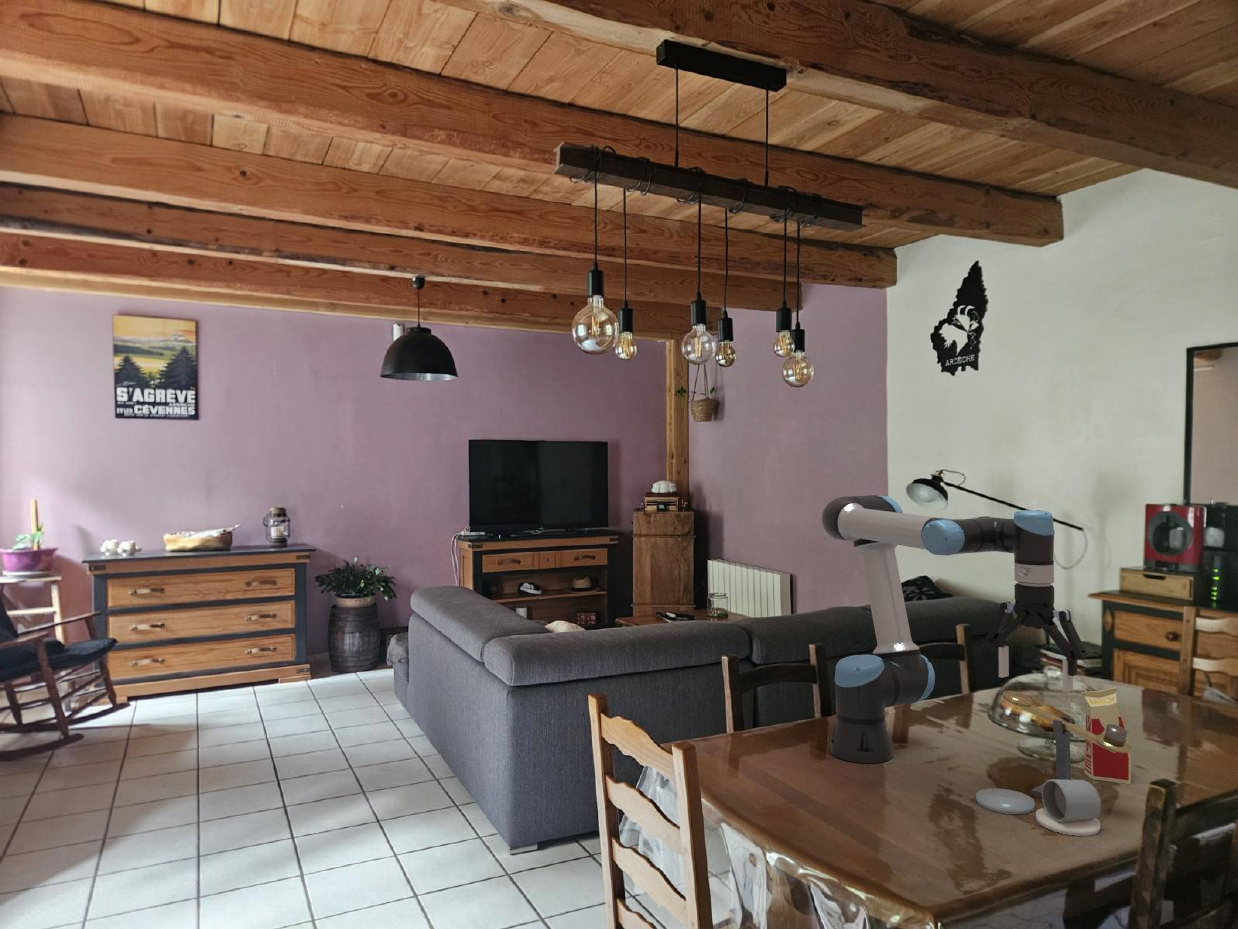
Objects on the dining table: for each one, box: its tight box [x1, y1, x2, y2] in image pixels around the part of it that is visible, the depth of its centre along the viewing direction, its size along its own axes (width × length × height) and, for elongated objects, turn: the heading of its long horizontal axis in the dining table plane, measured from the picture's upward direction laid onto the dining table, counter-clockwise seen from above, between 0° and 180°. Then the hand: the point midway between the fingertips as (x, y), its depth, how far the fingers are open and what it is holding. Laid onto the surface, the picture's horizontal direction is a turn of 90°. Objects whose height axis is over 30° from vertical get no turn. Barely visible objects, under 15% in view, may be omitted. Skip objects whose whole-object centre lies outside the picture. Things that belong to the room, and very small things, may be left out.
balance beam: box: [1002, 690, 1131, 753], centre depth 169 cm, size 26×6×5 cm, turn 36°
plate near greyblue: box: [975, 788, 1036, 815], centre depth 166 cm, size 11×11×1 cm
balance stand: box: [1030, 715, 1072, 798], centre depth 169 cm, size 10×8×16 cm
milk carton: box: [1080, 686, 1132, 785], centre depth 181 cm, size 9×9×20 cm
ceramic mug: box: [1041, 778, 1103, 822], centre depth 157 cm, size 11×8×8 cm
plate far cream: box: [1035, 806, 1101, 837], centre depth 156 cm, size 11×11×1 cm
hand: (1034, 683), depth 170 cm, fingers open, 13 cm apart
